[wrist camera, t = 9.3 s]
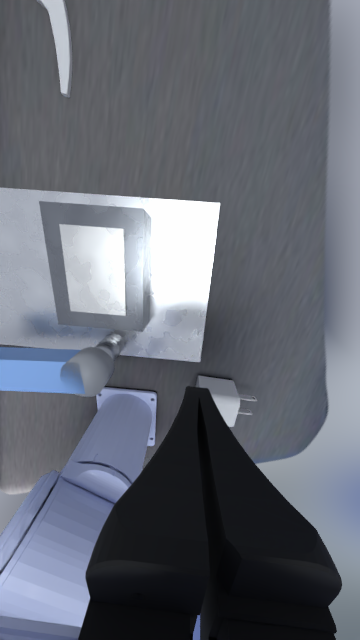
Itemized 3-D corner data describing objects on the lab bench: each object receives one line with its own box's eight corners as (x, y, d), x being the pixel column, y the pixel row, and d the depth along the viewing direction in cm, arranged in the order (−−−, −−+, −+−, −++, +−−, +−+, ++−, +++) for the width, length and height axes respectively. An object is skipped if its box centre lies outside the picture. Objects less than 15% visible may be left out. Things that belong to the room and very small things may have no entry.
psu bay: (199, 357, 22) (202, 385, 17) (7, 340, 22) (-44, 362, 17) (218, 206, 16) (230, 184, 12) (-33, 188, 17) (-122, 160, 12)
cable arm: (112, 347, 16) (101, 359, 14) (116, 382, 17) (107, 397, 15) (-69, 341, 16) (-104, 352, 14) (-53, 375, 17) (-83, 389, 15)
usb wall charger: (198, 372, 22) (200, 395, 19) (252, 381, 22) (265, 405, 19) (193, 398, 24) (194, 424, 20) (244, 405, 24) (255, 433, 20)
